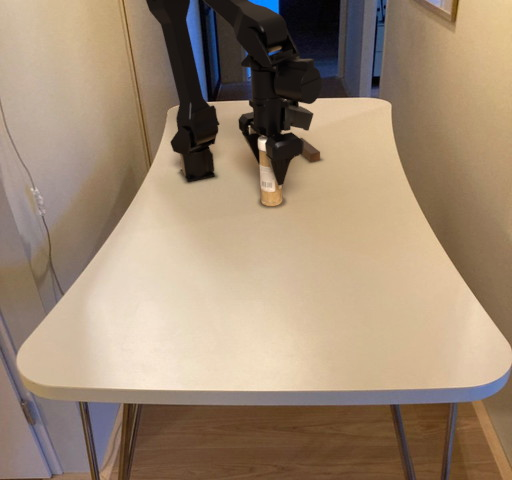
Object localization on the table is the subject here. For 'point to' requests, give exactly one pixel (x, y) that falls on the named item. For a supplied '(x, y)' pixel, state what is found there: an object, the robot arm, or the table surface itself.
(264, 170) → the spice jar
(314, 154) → the walnut rail
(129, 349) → the table surface
